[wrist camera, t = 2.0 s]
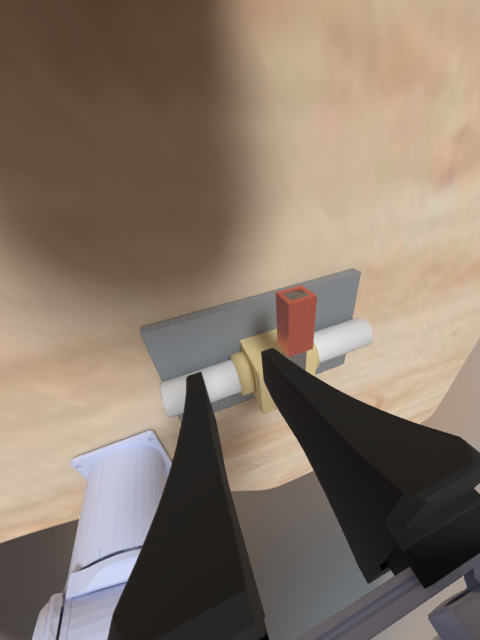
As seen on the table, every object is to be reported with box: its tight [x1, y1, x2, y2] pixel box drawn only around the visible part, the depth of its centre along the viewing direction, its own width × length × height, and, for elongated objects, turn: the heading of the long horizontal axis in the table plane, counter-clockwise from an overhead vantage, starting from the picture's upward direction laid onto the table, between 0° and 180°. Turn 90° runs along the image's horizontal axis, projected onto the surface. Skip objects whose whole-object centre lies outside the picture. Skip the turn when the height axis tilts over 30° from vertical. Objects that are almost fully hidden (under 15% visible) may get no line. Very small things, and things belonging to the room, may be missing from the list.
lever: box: [276, 285, 317, 370], centre depth 16 cm, size 10×2×2 cm, turn 7°
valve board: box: [141, 269, 374, 424], centre depth 21 cm, size 12×20×6 cm, turn 97°
